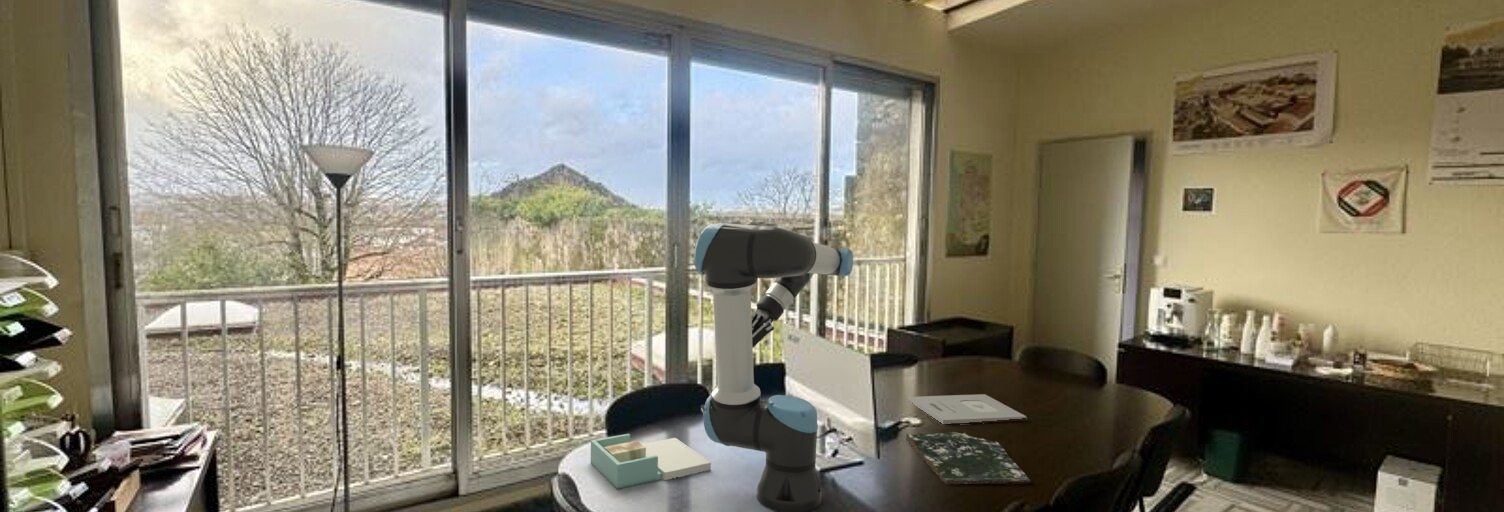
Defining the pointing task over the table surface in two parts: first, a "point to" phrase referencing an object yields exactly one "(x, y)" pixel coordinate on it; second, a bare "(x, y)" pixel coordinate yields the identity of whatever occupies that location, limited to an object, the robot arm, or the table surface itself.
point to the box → (622, 464)
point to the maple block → (627, 451)
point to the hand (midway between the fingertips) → (722, 366)
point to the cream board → (676, 458)
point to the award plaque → (965, 408)
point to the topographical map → (966, 459)
